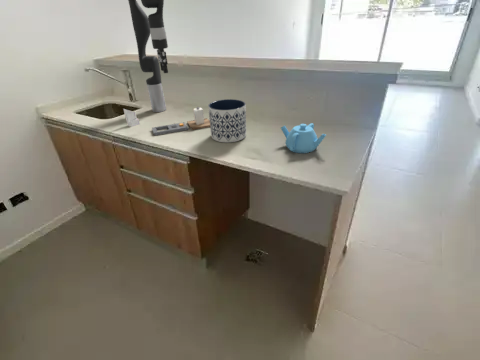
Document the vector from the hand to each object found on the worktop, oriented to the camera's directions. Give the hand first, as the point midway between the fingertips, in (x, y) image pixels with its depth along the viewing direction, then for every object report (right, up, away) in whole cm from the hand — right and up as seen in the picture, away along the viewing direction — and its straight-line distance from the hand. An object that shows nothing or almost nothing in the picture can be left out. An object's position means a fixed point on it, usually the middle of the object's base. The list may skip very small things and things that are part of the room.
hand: (164, 71), depth 146 cm
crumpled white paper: (-22, -26, +13) cm, 36 cm away
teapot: (+69, -44, -21) cm, 84 cm away
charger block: (+18, -26, +8) cm, 33 cm away
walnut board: (+18, -27, +9) cm, 34 cm away
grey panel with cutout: (+2, -31, +3) cm, 31 cm away
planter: (+35, -36, -7) cm, 51 cm away
